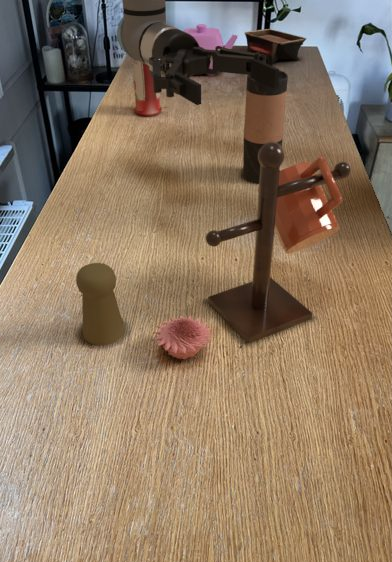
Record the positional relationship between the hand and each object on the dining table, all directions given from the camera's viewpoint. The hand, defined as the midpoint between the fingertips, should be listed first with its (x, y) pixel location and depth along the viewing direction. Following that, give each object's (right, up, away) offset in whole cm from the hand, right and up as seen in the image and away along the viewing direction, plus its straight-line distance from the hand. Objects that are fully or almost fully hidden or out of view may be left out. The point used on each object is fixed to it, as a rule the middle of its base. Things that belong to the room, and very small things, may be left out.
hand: (239, 86), depth 86 cm
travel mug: (+7, -4, +34) cm, 35 cm away
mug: (+11, -23, -5) cm, 26 cm away
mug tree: (+5, -33, +1) cm, 33 cm away
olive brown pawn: (-19, -37, -3) cm, 42 cm away
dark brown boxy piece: (+17, +51, +96) cm, 110 cm away
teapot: (-4, +43, +88) cm, 98 cm away
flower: (-8, -39, -6) cm, 41 cm away
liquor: (-18, +21, +62) cm, 68 cm away
